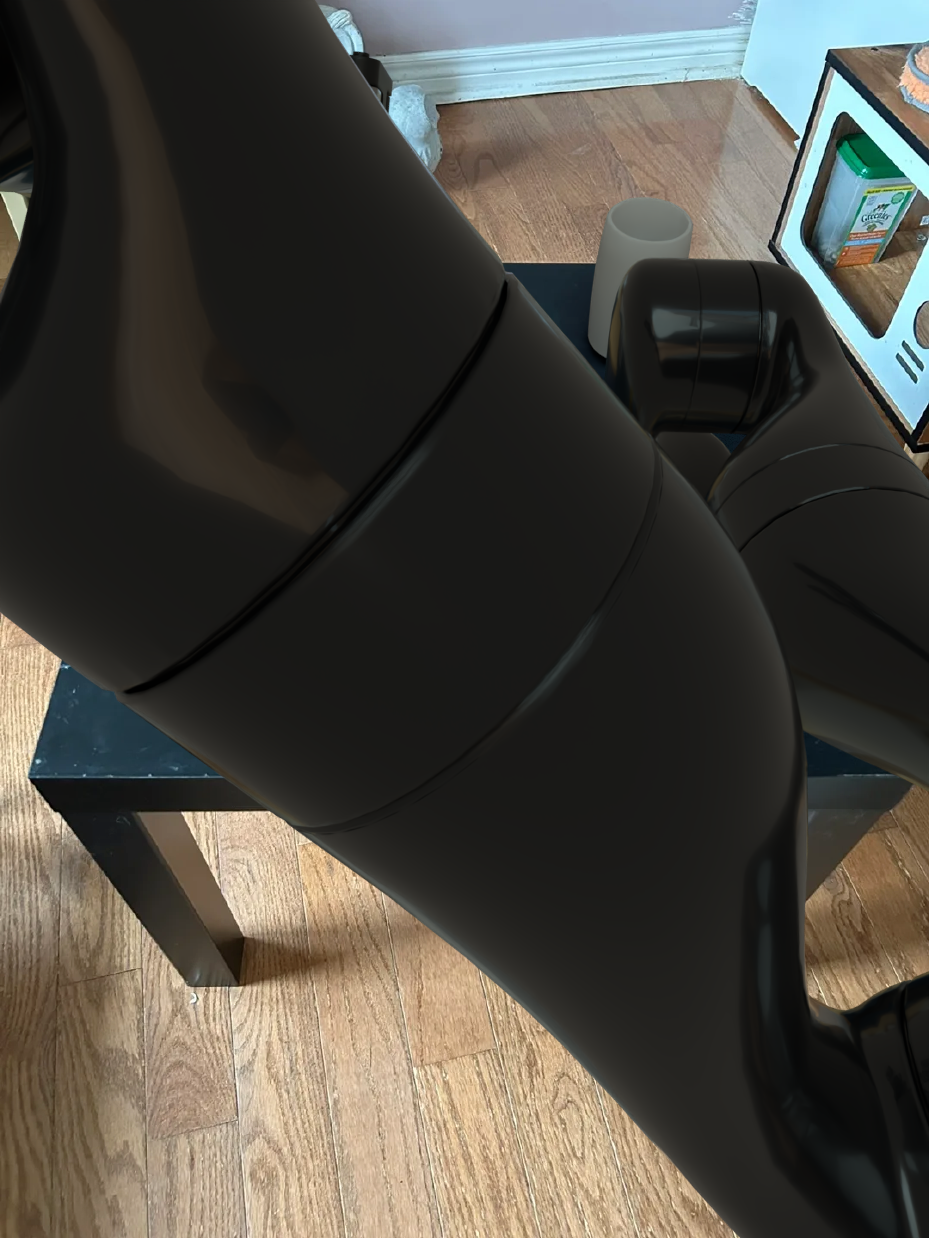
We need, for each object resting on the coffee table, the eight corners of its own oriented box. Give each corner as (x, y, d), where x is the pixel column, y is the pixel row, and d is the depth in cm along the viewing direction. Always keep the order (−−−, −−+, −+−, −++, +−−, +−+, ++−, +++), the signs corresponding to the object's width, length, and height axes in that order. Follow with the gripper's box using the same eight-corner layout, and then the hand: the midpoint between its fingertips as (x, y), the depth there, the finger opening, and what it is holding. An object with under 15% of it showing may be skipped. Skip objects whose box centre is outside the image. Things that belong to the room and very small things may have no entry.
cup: (568, 335, 100) (586, 205, 88) (638, 315, 102) (664, 187, 90) (610, 384, 95) (634, 255, 84) (682, 363, 97) (715, 234, 86)
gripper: (-201, 168, 24) (33, 183, 39) (367, 242, 26) (384, 229, 40) (-249, -204, 21) (23, -35, 36) (394, -98, 23) (401, 23, 38)
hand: (213, 104), depth 38 cm, fingers open, 8 cm apart
